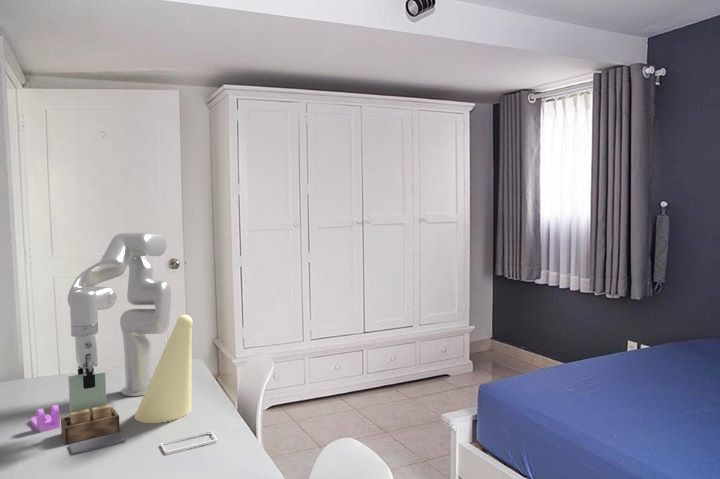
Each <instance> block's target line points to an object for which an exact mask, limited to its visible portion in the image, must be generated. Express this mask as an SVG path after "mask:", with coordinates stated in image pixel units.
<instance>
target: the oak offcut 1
mask: <svg viewBox="0 0 720 479" xmlns="http://www.w3.org/2000/svg"><path fill="white" fill-rule="evenodd" d="M69 416H70V420H71V425H76V424H80V423H85V422H89V421H90V411H89V409H85V410H80V411H76V412H71V413H70V412H69Z"/></svg>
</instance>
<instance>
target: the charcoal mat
mask: <svg viewBox="0 0 720 479" xmlns="http://www.w3.org/2000/svg"><path fill="white" fill-rule="evenodd" d="M125 442H126V440H125V438H124V436H123V435H122V434H121V431H119V432H115V433H111V434H107V435H102V436H98V437H94V438H90V439H86V440H81V441H77V442H73V443H69V444H68V448H69V451H70V452H71V456H74V455H78V454H83V453H86V452H90V451H93V450H94V451H95V450H98V449H103V448H107V447H110V446H115V445H119V444H122V443H125Z"/></svg>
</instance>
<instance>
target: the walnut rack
mask: <svg viewBox="0 0 720 479" xmlns="http://www.w3.org/2000/svg"><path fill="white" fill-rule="evenodd" d="M120 426H121V425H120V415H119V414H118V412H117V411H116V409H115V408H114V407H113V406H111V417H107V418H103V419H98V420H94V421H92V416H90V421H89V422H85V423H80V424H76V425H71V420H70V415H69V416H63V417H60V431H61V432H60V433H61V435H62V438H63V441H64V444H65V445H69V444H73V443H77V442H81V441H86V440H90V439H94V438H98V437H102V436H106V435H111V434H115V433H119V432H121V429H120V428H121V427H120Z"/></svg>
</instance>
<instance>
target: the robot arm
mask: <svg viewBox="0 0 720 479" xmlns="http://www.w3.org/2000/svg"><path fill="white" fill-rule="evenodd" d="M166 250H167V240H166V237H164V235H162V234H160V233H151V232H150V233H149V232H121V233H117V234H116V235H114V237H112V239H111V240H110V243H109V244H108V246H107V248H106V250H105V251H104V254H103V256H102V258H101V259H100V261H98V262H96V263H95V264H93V265H91V266H89V267H88V268H87V269H85V270H84V271H82V272H81V273H80V274H79V275H78V276H77V277H76V278H75V279H74V282H73V283H72V284H71V287H70V289H69V291H68V294H67V303H68V306H69V311H70V314H69V315H70V335H71V336H70V337H73V338H74V342H75V344H74V345H75V359H76V360H75V361H76V364H77V365H78V366H77V367H78V368H77V375H80V374H84V376H83V388H84V389H88V388H93V387H95V374H94V372H95V368H94V366H95V367H98V366H99V359H98V348H97V338H96V335H98V334H99V324H98V323H99V320H98V318H99V317H98V311H104V310H108V309H111V308H112V307H113V306H114V305H115V304H116V303H117V302H116V301H117V292H116V290H114V288H112V287H109V286H101V285H100V286H97V285H99V284H101V283H104V282H107V281H110V280H113V279H115V278H119V277H121V276H122V275H123V274H124V273H125V272H126V269H127V267H128V282H127V294H126V296H127V297H126V298H127V301H128V303H129V304H130V305H132V306H154V307H155V308H131V309H127V310H125V311H124V312H123V313H122V314H121V316H120V317H119V318H120V319H119V325H120V330H121V332H122V333H121V334H122V339H123V350H124V351H123V352H124V373H125V374H124V377H125V386H124V387H123V388H122V389H121V391H120V392H121V395H122V396H126V397H139V396H144V394H145V392H146V389H147V387H148V385H149V383H150V380H151V378H152V376H153V362H152V361H153V360H152V344H151V340H150V339H149V338H148V336H147V335H161V334H165V333H166V332H167V330H168V329H169V326H170V319H171V318H170V316H171V304H172V289H171V286H170V284H169V283H168V282H167V281H166V280H157V279H156V280H154V279H153V273H154V269H153V264H151V262H150V261H149V259H148V258H147V257H161V256H163V255H164V253H166Z"/></svg>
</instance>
